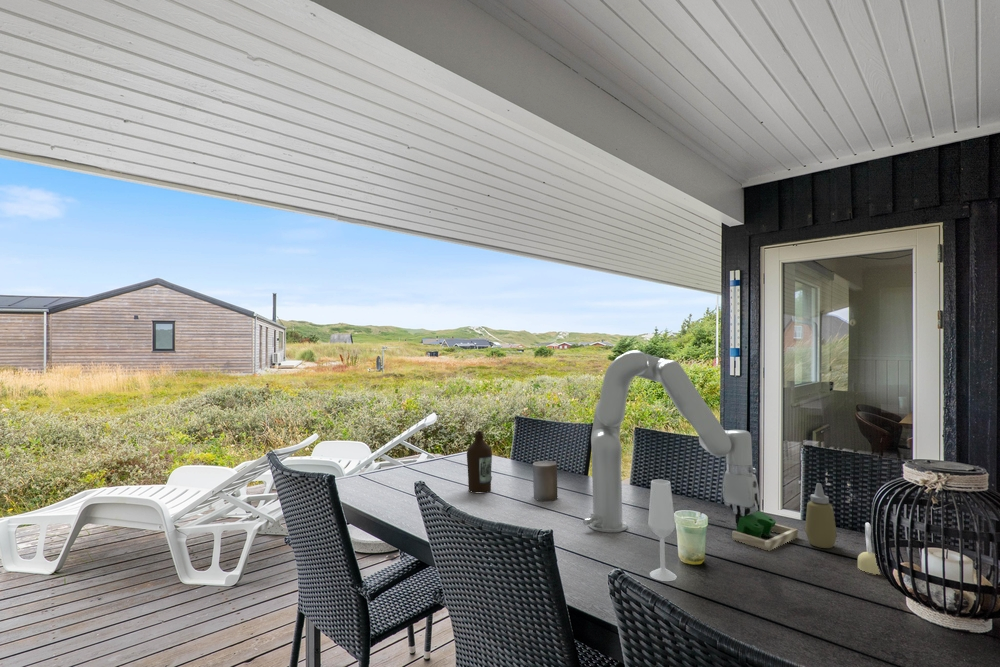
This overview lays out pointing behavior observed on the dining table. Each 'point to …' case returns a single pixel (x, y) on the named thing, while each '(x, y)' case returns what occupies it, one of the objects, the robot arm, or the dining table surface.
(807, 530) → the squeeze bottle
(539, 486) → the pillar candle
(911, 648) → the dining table surface
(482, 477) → the olive oil
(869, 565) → the pale yellow handled piece
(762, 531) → the clamp
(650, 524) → the champagne flute
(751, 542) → the keeper bracket
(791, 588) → the dining table surface
